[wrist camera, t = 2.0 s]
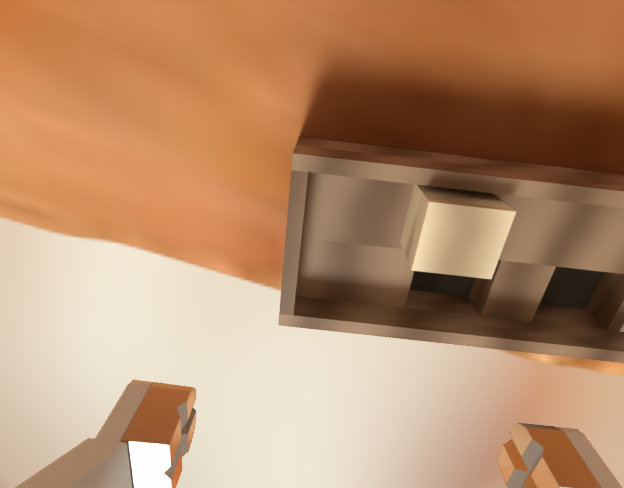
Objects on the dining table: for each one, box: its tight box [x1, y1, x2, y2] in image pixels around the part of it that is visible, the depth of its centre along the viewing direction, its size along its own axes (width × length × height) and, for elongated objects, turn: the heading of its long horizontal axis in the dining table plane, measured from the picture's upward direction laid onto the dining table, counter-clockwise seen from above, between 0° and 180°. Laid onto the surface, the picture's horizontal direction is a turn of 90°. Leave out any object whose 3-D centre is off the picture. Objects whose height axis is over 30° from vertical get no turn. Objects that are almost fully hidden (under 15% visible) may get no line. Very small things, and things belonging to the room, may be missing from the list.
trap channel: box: [279, 137, 624, 363], centre depth 27 cm, size 35×12×6 cm, turn 84°
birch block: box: [400, 184, 516, 279], centre depth 24 cm, size 5×4×4 cm
